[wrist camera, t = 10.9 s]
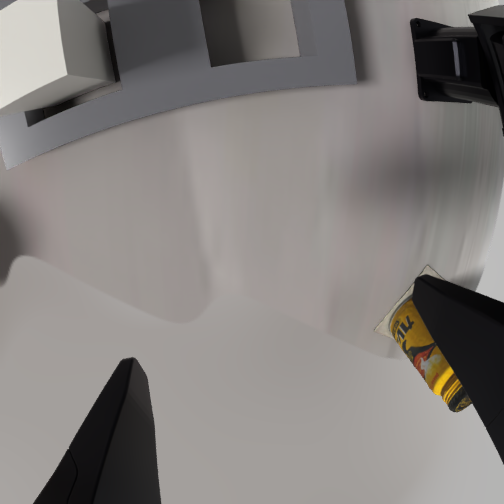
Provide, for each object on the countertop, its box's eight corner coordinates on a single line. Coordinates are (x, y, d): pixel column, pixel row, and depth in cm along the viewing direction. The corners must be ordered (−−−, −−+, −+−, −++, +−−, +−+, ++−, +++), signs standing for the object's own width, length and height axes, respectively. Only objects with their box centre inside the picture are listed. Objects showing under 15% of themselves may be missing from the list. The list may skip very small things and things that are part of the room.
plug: (105, 22, 12) (55, -20, 5) (115, 82, 14) (67, 74, 7) (44, 47, 12) (-31, 32, 5) (54, 105, 14) (-20, 121, 7)
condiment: (372, 330, 29) (435, 421, 19) (426, 264, 26) (509, 344, 16) (406, 343, 32) (461, 418, 22) (452, 287, 29) (520, 355, 19)
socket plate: (305, -72, 11) (343, -106, 6) (336, 83, 17) (388, 85, 12) (0, 0, 8) (-45, -15, 4) (25, 160, 15) (-21, 187, 10)
